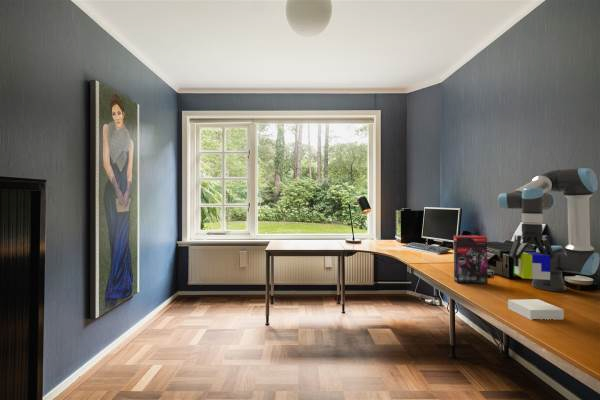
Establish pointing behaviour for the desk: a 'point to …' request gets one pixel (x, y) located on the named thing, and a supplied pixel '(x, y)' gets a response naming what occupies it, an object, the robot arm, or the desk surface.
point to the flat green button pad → (490, 272)
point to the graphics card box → (470, 259)
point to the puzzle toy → (534, 266)
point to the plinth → (535, 309)
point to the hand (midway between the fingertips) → (531, 273)
